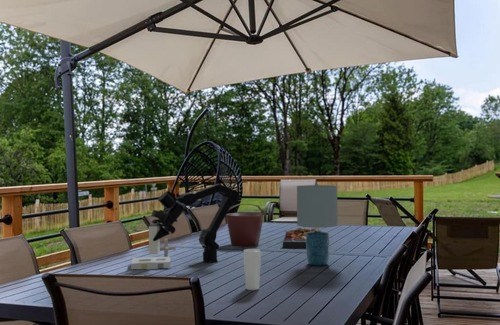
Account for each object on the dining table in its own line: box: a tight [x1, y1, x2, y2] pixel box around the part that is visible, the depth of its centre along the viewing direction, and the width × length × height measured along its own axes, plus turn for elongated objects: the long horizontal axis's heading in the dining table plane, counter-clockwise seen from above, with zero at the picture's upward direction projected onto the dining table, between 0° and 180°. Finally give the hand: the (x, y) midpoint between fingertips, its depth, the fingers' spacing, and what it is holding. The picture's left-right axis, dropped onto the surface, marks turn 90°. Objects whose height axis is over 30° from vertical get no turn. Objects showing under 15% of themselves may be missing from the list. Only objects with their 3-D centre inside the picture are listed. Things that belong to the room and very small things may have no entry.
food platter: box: [282, 227, 315, 249], centre depth 303 cm, size 45×25×10 cm, turn 173°
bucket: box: [225, 203, 266, 248], centre depth 295 cm, size 24×22×25 cm
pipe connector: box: [160, 238, 177, 257], centre depth 254 cm, size 10×10×10 cm
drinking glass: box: [242, 248, 262, 291], centre depth 188 cm, size 7×7×15 cm
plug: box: [148, 223, 161, 255], centre depth 230 cm, size 4×4×14 cm
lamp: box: [296, 184, 339, 267], centre depth 234 cm, size 19×19×38 cm
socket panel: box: [130, 256, 171, 270], centre depth 233 cm, size 18×14×3 cm
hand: (151, 239), depth 229 cm, fingers closed on plug, 5 cm apart
